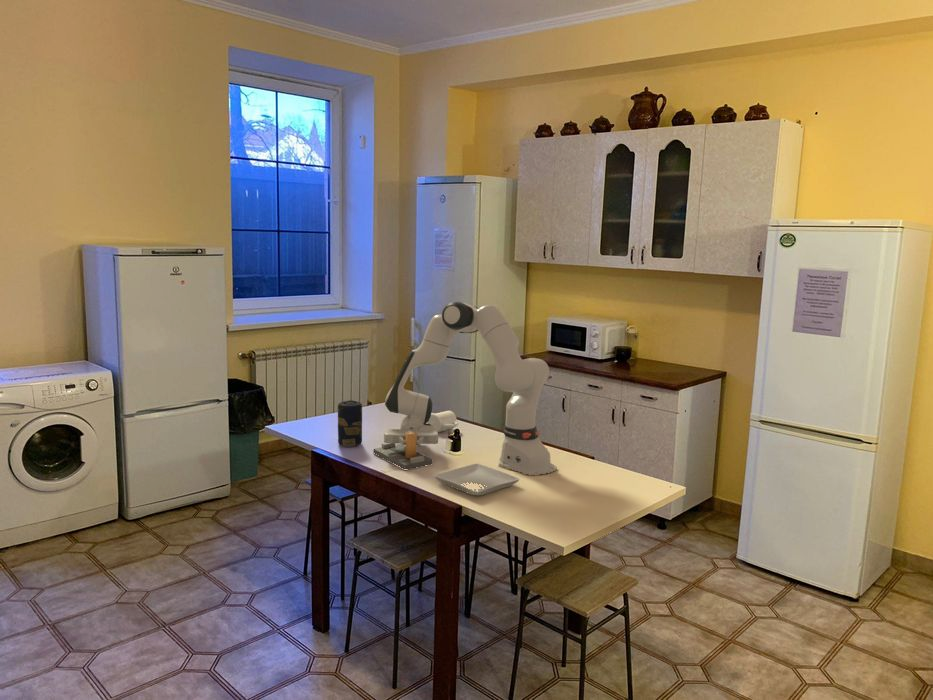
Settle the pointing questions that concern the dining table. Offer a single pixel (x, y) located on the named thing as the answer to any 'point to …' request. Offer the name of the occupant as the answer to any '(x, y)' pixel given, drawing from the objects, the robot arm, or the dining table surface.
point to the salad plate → (477, 478)
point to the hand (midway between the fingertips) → (411, 443)
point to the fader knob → (411, 444)
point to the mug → (443, 421)
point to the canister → (350, 423)
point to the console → (401, 456)
